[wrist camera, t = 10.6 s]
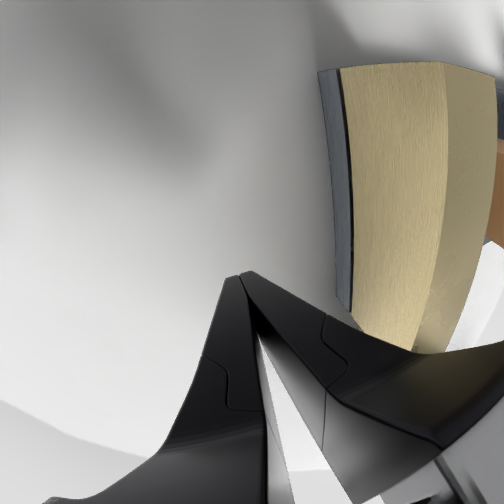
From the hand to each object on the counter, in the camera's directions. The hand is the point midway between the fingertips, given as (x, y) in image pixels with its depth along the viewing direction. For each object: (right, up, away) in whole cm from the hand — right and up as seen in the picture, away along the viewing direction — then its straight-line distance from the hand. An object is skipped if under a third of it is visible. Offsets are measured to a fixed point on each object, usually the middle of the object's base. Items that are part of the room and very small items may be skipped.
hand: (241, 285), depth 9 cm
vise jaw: (+6, +3, +3) cm, 7 cm away
